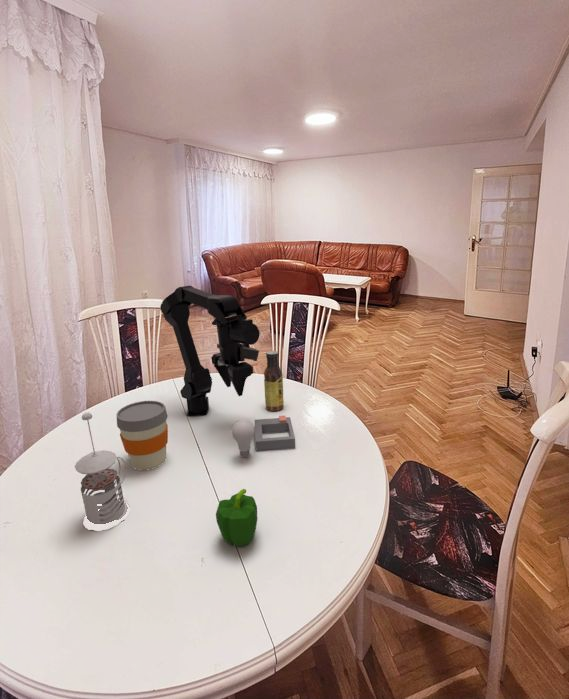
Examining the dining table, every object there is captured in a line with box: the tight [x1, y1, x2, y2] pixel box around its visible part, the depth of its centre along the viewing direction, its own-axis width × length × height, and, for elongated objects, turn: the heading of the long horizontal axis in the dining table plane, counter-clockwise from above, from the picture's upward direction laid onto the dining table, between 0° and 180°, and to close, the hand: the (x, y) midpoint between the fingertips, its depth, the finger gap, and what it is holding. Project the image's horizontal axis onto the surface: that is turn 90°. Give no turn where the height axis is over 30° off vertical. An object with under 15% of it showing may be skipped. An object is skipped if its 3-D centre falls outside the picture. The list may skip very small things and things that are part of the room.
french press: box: [74, 411, 128, 524], centre depth 85 cm, size 10×12×25 cm
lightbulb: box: [231, 418, 255, 459], centre depth 107 cm, size 6×6×11 cm
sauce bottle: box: [263, 350, 284, 412], centre depth 134 cm, size 7×6×20 cm
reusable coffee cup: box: [116, 400, 169, 471], centre depth 106 cm, size 13×13×15 cm
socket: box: [254, 415, 296, 452], centre depth 117 cm, size 11×13×4 cm
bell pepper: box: [215, 488, 258, 548], centre depth 79 cm, size 8×8×10 cm
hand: (234, 391), depth 119 cm, fingers open, 9 cm apart
